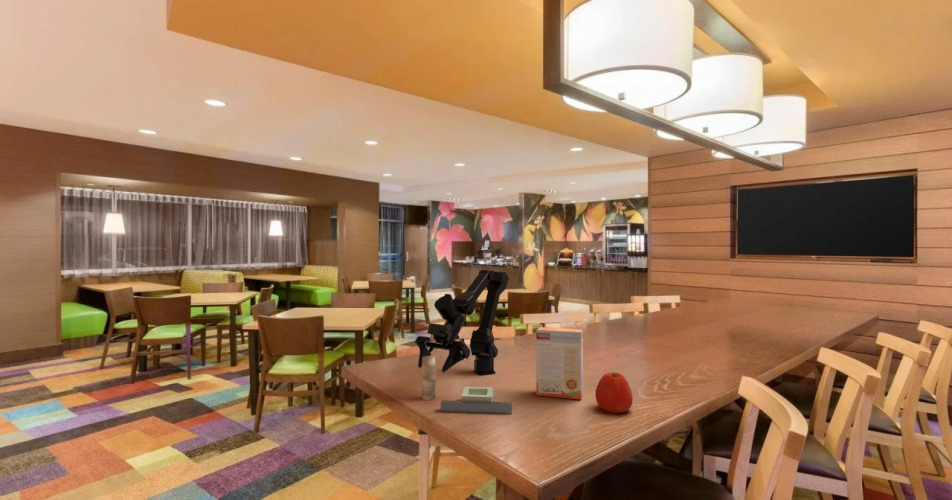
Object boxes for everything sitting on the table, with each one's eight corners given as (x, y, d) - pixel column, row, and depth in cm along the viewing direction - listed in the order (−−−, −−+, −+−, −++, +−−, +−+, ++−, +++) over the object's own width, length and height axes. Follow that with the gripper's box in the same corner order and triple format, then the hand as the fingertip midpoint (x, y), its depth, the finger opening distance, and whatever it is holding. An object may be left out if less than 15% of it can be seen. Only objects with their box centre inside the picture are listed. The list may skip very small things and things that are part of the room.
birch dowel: (433, 395, 137) (433, 355, 137) (436, 399, 133) (437, 358, 133) (420, 396, 135) (420, 356, 135) (424, 400, 131) (424, 359, 131)
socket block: (464, 399, 133) (464, 386, 133) (492, 400, 133) (492, 387, 133) (461, 410, 125) (461, 396, 125) (491, 411, 124) (491, 396, 124)
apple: (607, 400, 133) (607, 366, 133) (639, 409, 125) (639, 373, 125) (588, 408, 126) (588, 372, 126) (621, 418, 118) (621, 380, 118)
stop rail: (441, 408, 125) (441, 400, 125) (511, 411, 123) (511, 402, 123) (440, 411, 123) (440, 402, 123) (511, 413, 121) (511, 404, 121)
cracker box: (583, 394, 138) (583, 328, 138) (581, 400, 132) (581, 331, 132) (539, 389, 142) (539, 325, 142) (535, 395, 137) (535, 328, 137)
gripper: (418, 311, 144) (395, 350, 135) (465, 315, 134) (444, 359, 125) (433, 331, 151) (411, 370, 142) (478, 337, 141) (459, 379, 132)
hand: (430, 369), depth 135 cm, fingers open, 9 cm apart
